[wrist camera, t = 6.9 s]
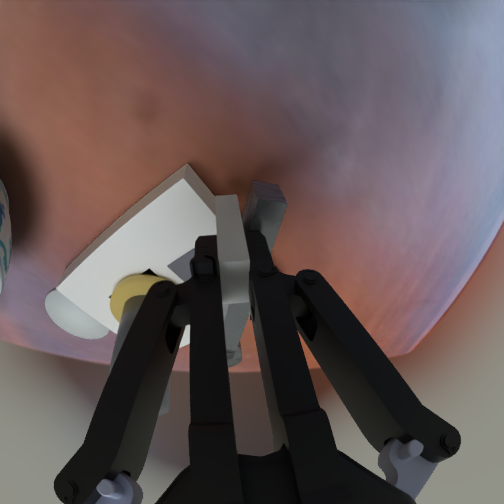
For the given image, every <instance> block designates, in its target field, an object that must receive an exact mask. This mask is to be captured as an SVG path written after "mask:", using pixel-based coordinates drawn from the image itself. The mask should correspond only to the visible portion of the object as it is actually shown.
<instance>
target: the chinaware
mask: <svg viewBox="0 0 504 504" xmlns="http://www.w3.org/2000/svg"><path fill="white" fill-rule="evenodd" d="M11 246H12V232H11V221H10V215H9V200H8V195H7V192H6V189H5V186H4V184H3V182H2V181H1V179H0V295H1V292H2V289H3V286H4V283H5V280H6V276H7V272H8V268H9V263H10V257H11Z"/></svg>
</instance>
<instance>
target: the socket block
mask: <svg viewBox="0 0 504 504" xmlns="http://www.w3.org/2000/svg"><path fill="white" fill-rule="evenodd" d="M205 235H217V229H216V207H215V196H214V195H213V193H212V192H211V191H210V190H209V189H208V187H207V186H206V185H205V184H204V182H203V181H202V180H201V179H200V178H199V176H198V175H197V174H196V173H195V172H194V170H193V169H192V168H191V167H190V166H189V164H188V163H187V164H185V165H184V166H183V167H181V168H180V169H179V170H177V171H176V172H175V173H173V174H172V175H171V176H169V177H168V178H167V179H165V180H164V181H163V182H162V183H160V184H159V185H158V186H156V187H155V188H154V189H153V190H151V191H150V192H149V193H148V194H147V195H145V196H144V197H143V198H142V199H140V200H139V201H138V202H137V203H136V204H134V205H133V206H132V207H131V208H130V209H129V210H127V211H126V212H125V213H124V214H123V215H122V216H120V217H119V218H118V219H117V220H116V221H115V222H114V223H113V224H111V225H110V226H109V227H108V228H107V229H106V230H105V231H104V232H103V233H102V234H101V235H99V236H98V237H97V238H96V239H95V240H94V241H93V242H92V243H91V244H90V245H89V246H88V247H87V248H86V249H85V250H84V251H83V252H82V253H81V254H80V255H79V256H78V257H77V258H76V259H75V260H74V261H73V262H72V263H71V264H70V265H69V266H68V267H67V268H66V269H65V271H64V273H63V275H62V277H61V279H60V281H59V283H58V285H57V287H56V289H57V290H58V291H59V292H60V293H62V294H63V295H64V296H65V297H67V298H68V299H69V300H70V301H72V302H73V303H74V304H75V305H77V306H78V307H79V308H81V309H82V310H83V311H85V312H86V313H87V314H89V315H90V316H91V317H93V318H94V319H96V320H97V321H98V322H100V323H101V324H103V325H104V326H105V327H107V328H108V329H110V330H111V331H113V332H114V333H116V334H117V332H118V327H119V322H118V321H117V320H116V319H115V318H114V316H113V314H112V312H111V309H110V299H111V296H112V293H113V290H114V288H115V286H116V285H117V284H118V283H119V282H120V281H121V280H123V279H125V278H127V277H130V276H134V275H140V274H141V273H143V272H144V271H146V270H147V269H149V268H150V269H151V270H152V271H153V272H154V273H155V274H157V275H158V276H159V277H160V278H163V279H166V280H168V281H172V282H173V283H174V284H175V285H177V284H181V283H183V282H186V281H187V280H189V279H190V278H191V271H190V264H189V263H190V260H191V259H192V258H193V257H194V254H195V241H196V240H197V238H198V237H199V236H205ZM249 315H250V313H249ZM189 343H190V325H187V326H186V327H185V331H184V334H183V337H182V340H181V343H180V346H179V348H180V347H183V346H185V345H187V344H189Z"/></svg>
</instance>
